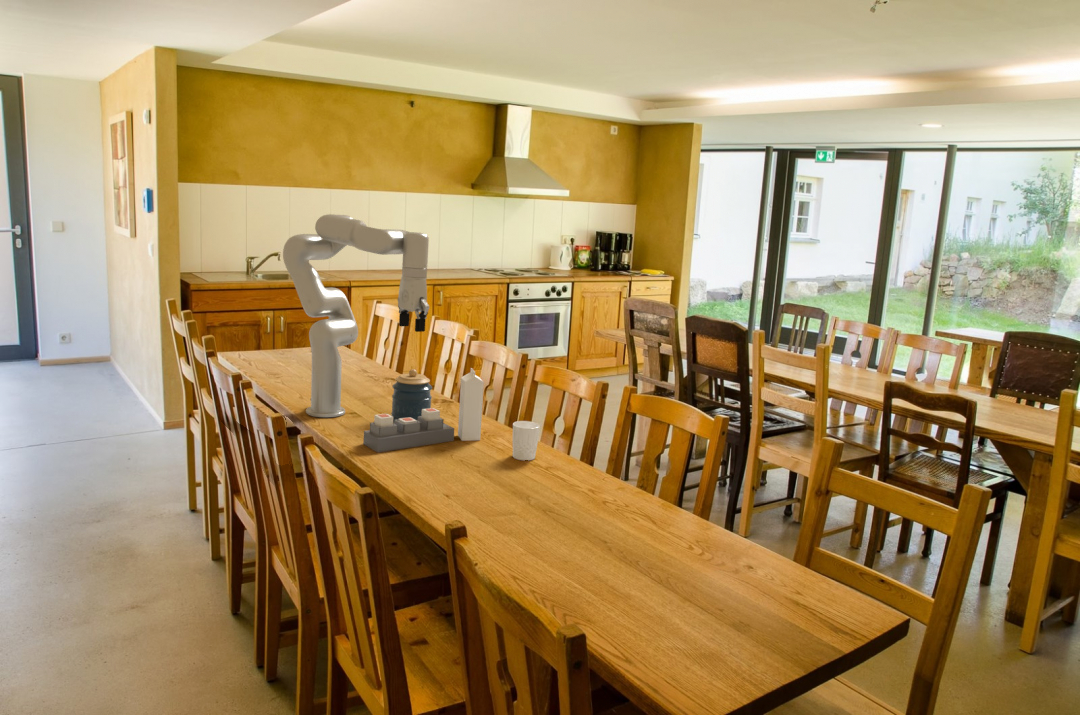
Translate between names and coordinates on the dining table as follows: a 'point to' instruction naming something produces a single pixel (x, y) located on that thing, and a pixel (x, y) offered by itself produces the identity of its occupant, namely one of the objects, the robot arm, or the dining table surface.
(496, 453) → the dining table surface
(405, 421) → the button
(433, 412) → the button
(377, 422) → the button
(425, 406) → the canister
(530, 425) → the white cup
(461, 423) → the milk
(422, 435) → the button panel
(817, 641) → the dining table surface
